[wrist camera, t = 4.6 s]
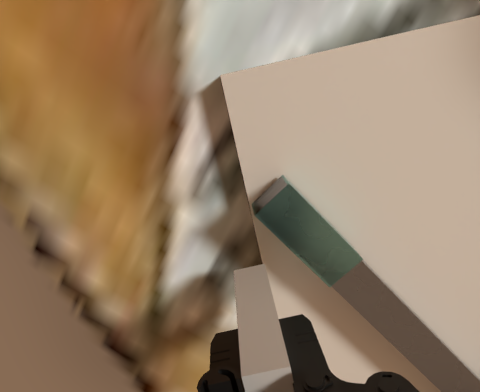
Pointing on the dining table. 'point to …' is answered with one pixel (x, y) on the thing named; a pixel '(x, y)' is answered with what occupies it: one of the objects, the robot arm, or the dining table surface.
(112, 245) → the dining table surface
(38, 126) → the dining table surface
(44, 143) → the dining table surface
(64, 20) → the dining table surface
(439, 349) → the bar
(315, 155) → the rest board
